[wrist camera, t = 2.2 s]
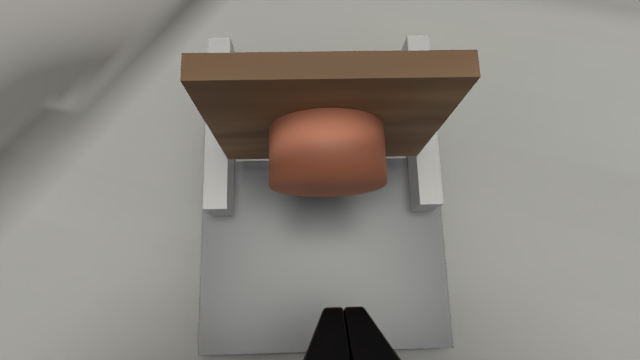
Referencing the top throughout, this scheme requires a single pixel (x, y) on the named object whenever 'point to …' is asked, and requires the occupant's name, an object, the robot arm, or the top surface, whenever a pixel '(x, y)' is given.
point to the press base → (320, 253)
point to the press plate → (327, 110)
